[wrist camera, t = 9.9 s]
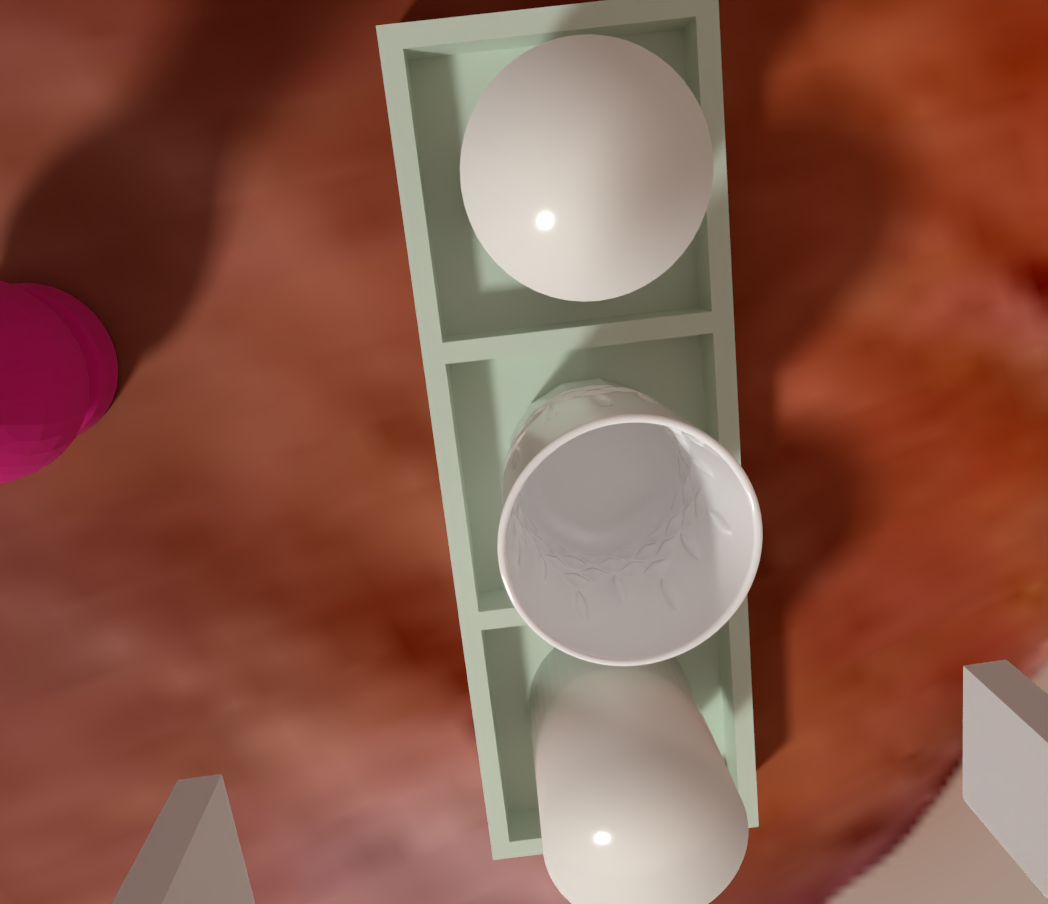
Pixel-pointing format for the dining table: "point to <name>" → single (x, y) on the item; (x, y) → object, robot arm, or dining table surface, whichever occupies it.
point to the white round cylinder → (586, 167)
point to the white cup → (623, 526)
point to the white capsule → (631, 785)
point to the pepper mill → (49, 375)
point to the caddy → (553, 359)
